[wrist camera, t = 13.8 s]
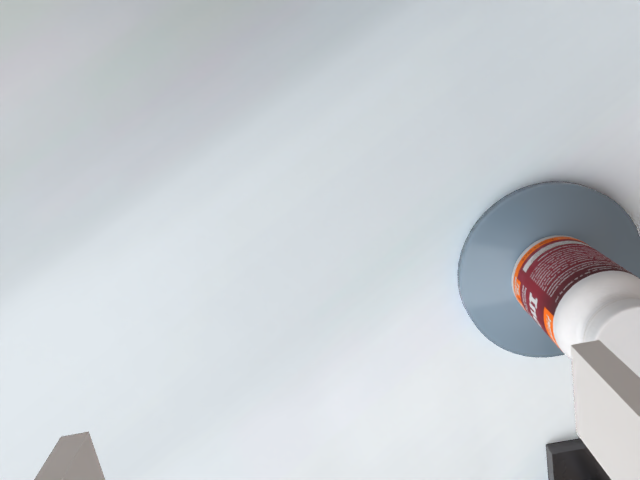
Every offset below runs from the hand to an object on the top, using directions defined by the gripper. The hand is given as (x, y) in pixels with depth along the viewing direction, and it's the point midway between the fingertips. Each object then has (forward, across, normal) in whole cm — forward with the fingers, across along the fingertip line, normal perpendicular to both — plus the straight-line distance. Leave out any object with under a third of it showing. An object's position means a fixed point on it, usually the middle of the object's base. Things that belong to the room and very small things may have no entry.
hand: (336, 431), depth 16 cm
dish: (+27, +16, -8) cm, 32 cm away
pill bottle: (+26, +16, -8) cm, 31 cm away
